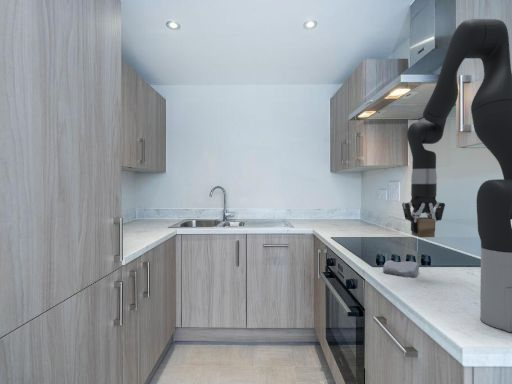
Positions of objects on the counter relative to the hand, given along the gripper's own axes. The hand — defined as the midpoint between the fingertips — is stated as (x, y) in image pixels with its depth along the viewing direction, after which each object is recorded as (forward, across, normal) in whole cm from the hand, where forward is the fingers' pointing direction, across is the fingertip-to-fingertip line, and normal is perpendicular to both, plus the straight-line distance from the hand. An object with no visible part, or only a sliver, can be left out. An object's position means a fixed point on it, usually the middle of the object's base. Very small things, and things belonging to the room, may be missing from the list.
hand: (422, 233), depth 109 cm
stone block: (+17, -3, +9) cm, 19 cm away
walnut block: (+1, 0, 0) cm, 1 cm away
